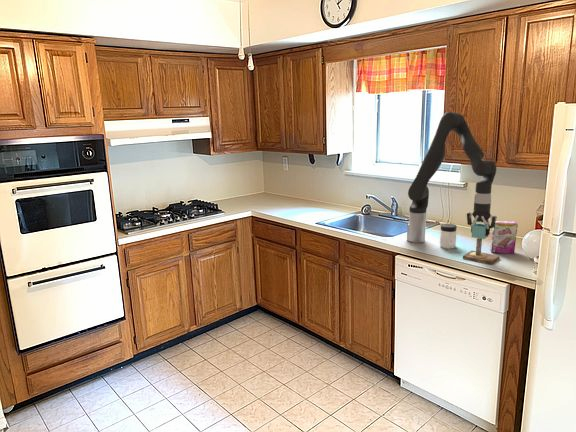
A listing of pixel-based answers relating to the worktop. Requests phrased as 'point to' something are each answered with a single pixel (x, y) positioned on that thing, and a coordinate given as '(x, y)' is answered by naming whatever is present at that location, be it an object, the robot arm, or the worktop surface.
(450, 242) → the jar
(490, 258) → the post stand
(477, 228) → the collar
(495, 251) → the candy bar box
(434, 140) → the robot arm
